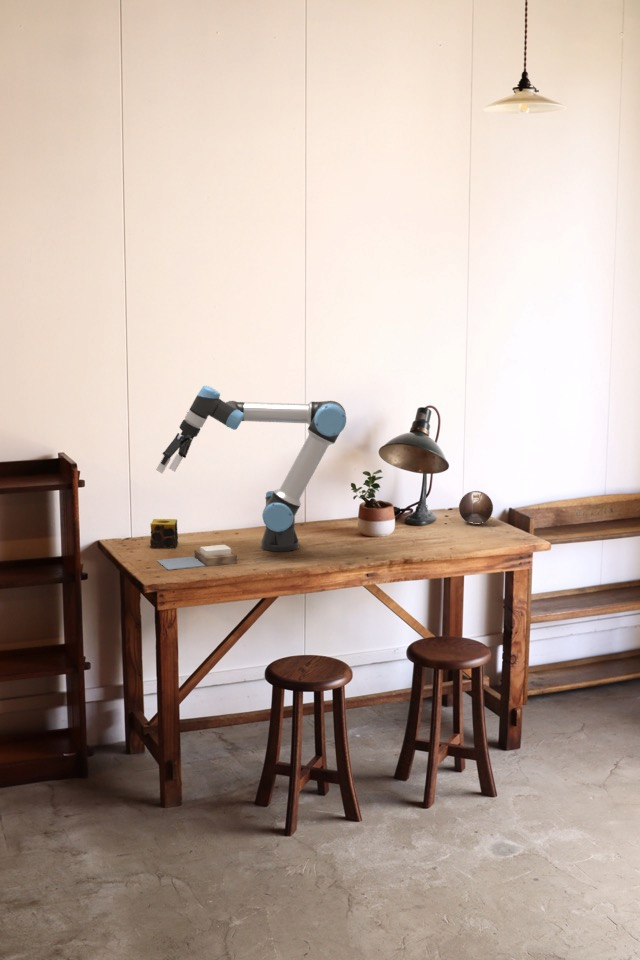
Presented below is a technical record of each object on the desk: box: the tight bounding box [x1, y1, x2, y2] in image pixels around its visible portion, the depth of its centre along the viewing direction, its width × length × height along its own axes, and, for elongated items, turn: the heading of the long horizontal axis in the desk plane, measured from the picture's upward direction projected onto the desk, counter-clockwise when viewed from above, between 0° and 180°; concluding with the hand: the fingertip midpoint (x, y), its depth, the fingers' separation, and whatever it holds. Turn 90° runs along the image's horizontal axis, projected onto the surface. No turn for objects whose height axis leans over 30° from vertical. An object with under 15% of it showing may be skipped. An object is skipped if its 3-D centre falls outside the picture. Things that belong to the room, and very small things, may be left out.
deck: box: [194, 549, 238, 567], centre depth 405 cm, size 12×14×3 cm
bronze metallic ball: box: [458, 490, 494, 524], centre depth 473 cm, size 15×15×15 cm
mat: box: [156, 556, 206, 571], centre depth 399 cm, size 14×14×1 cm
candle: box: [149, 518, 179, 549], centre depth 426 cm, size 10×10×10 cm
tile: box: [199, 544, 232, 556], centre depth 404 cm, size 10×7×2 cm
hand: (165, 470), depth 409 cm, fingers open, 13 cm apart
